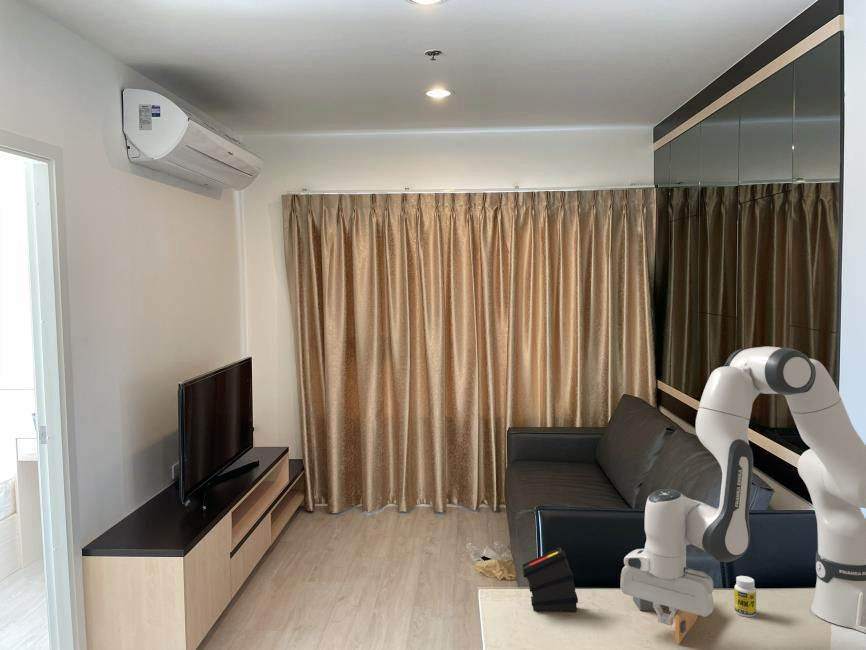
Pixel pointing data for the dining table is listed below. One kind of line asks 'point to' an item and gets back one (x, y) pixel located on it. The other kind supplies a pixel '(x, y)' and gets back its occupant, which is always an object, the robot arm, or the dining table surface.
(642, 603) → the block
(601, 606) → the dining table surface
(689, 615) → the side door
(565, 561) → the magazine
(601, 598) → the dining table surface
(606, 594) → the dining table surface
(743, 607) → the supplement bottle
